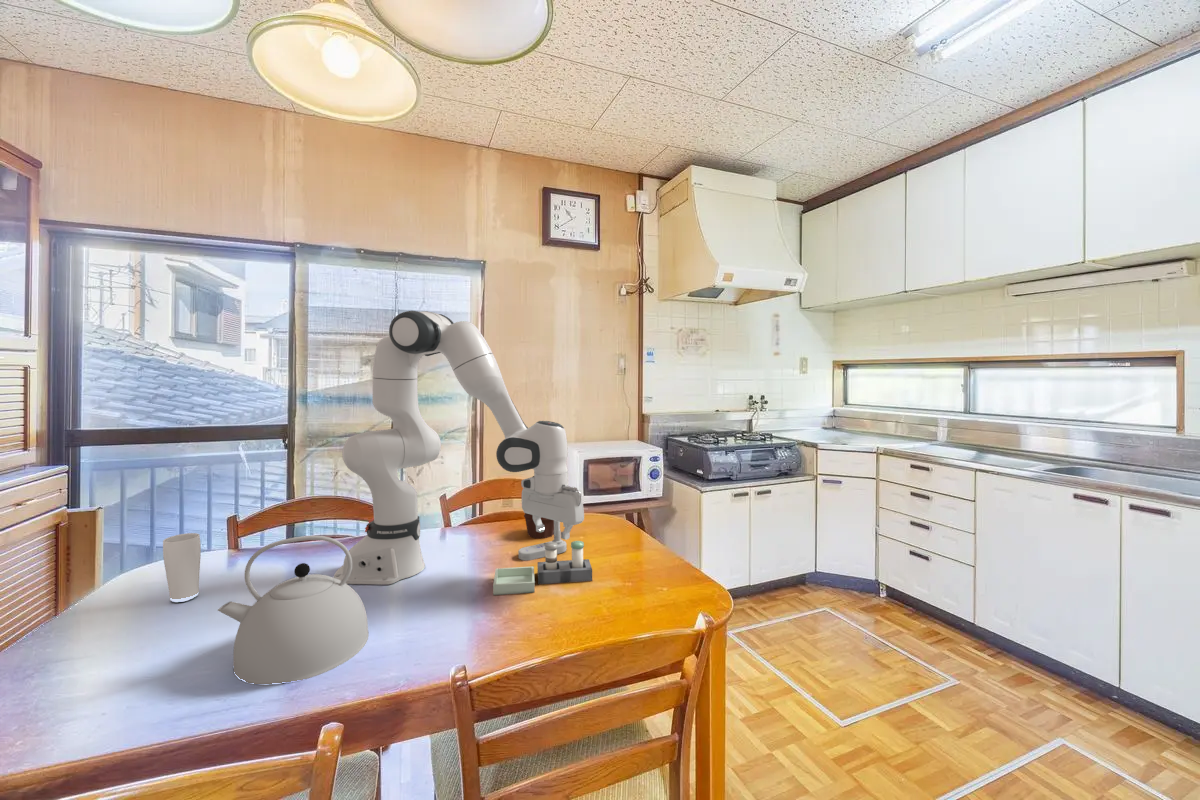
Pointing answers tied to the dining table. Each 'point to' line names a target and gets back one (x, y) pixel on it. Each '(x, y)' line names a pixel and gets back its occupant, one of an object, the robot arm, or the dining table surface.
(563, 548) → the electronic device
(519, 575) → the parts tray
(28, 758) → the dining table surface
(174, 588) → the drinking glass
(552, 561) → the cylinder
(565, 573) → the socket block
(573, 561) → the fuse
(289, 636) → the kettle
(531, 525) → the muffin
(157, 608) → the dining table surface
